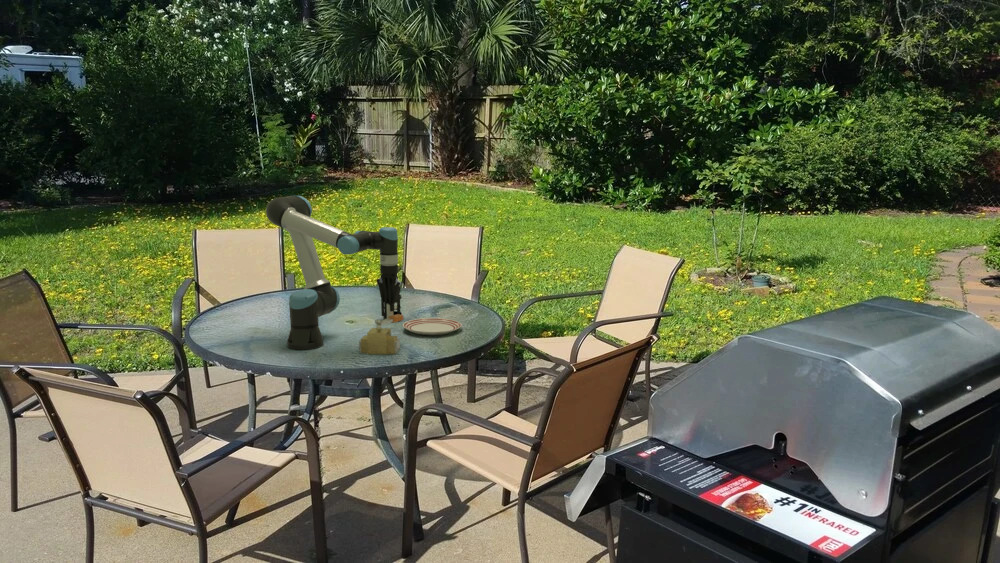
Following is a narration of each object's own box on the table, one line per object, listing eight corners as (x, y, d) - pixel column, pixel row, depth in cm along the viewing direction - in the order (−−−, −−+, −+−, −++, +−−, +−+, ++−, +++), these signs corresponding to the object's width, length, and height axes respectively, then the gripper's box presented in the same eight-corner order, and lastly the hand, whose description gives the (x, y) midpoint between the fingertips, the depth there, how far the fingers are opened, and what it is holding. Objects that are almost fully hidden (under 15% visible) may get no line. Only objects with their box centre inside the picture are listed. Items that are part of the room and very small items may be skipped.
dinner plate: (432, 320, 362) (431, 313, 361) (473, 329, 345) (473, 323, 344) (390, 331, 341) (390, 324, 340) (432, 342, 324) (432, 335, 323)
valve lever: (373, 330, 307) (373, 320, 306) (397, 322, 320) (397, 313, 319) (379, 331, 305) (379, 321, 304) (403, 323, 318) (403, 314, 317)
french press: (394, 316, 369) (393, 271, 364) (407, 319, 363) (406, 273, 358) (376, 320, 360) (375, 274, 355) (389, 323, 354) (388, 276, 350)
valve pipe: (358, 353, 306) (357, 332, 304) (363, 348, 314) (362, 327, 312) (396, 354, 304) (395, 333, 303) (400, 349, 312) (400, 328, 311)
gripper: (371, 263, 312) (372, 317, 317) (394, 267, 305) (395, 322, 310) (383, 261, 318) (384, 314, 323) (406, 264, 311) (407, 318, 316)
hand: (390, 318), depth 316 cm, fingers closed
